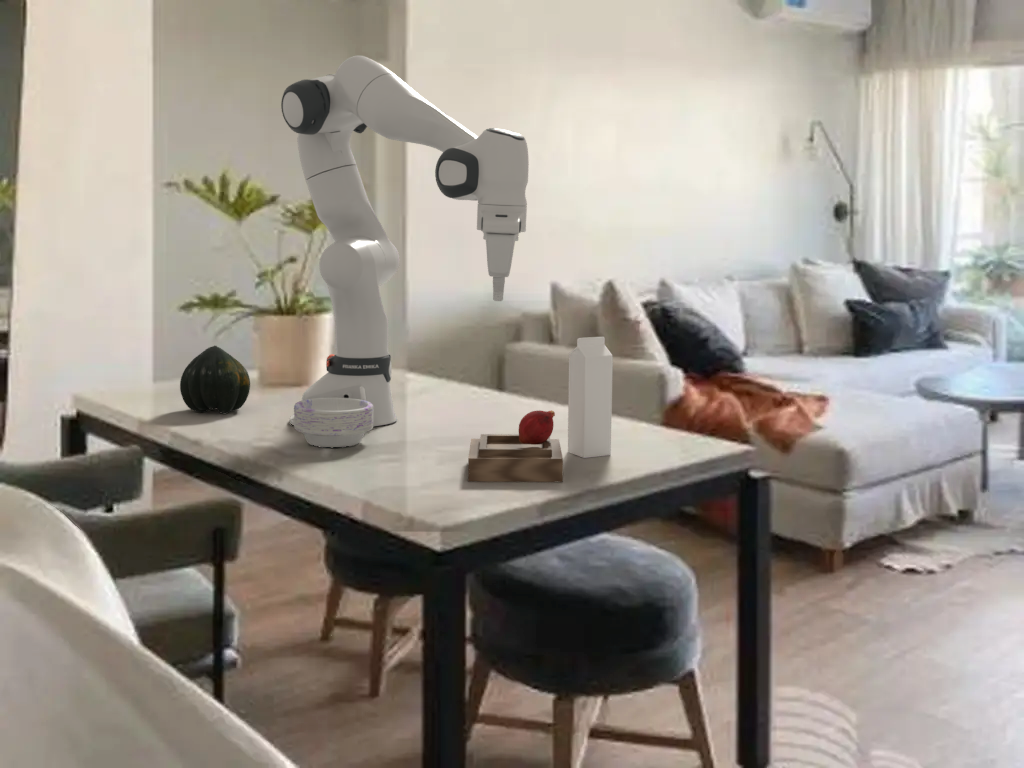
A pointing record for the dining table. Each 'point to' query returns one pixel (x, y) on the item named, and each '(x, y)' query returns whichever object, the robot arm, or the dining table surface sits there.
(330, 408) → the paper bowls
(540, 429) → the onion
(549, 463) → the walnut pedestal
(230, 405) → the squash
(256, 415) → the dining table surface
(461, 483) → the dining table surface
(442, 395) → the dining table surface
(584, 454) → the milk
